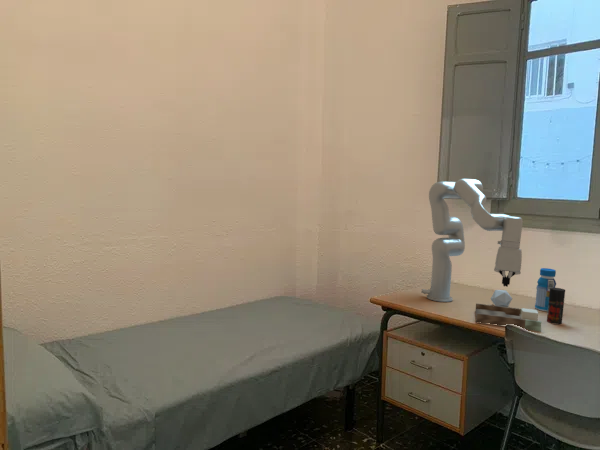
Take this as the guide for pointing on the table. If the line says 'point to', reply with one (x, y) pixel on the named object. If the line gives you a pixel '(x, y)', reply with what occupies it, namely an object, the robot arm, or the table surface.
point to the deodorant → (556, 305)
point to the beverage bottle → (544, 288)
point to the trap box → (504, 316)
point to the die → (501, 298)
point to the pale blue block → (529, 314)
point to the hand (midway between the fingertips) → (505, 285)
